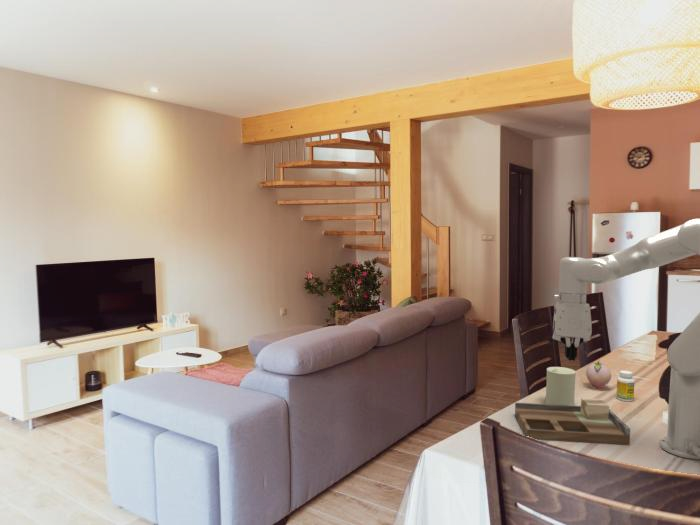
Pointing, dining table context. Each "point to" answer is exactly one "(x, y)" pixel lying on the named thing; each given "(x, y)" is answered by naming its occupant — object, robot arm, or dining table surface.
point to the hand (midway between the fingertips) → (570, 359)
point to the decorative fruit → (598, 375)
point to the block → (594, 409)
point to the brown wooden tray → (569, 424)
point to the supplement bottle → (625, 386)
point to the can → (560, 386)
